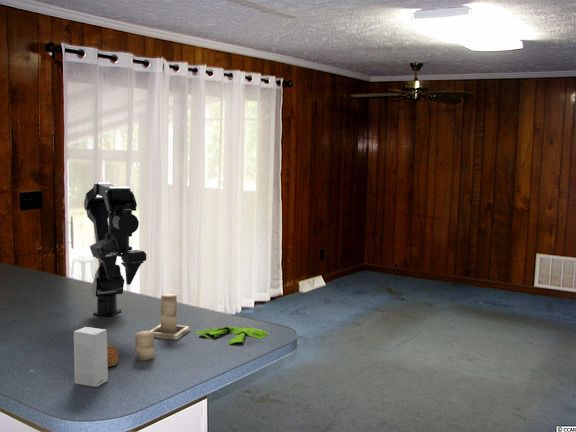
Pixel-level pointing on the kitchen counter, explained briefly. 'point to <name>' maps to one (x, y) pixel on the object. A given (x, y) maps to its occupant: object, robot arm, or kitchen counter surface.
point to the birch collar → (170, 336)
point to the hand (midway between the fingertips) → (119, 282)
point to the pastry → (112, 355)
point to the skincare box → (90, 356)
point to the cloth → (239, 338)
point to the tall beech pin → (169, 313)
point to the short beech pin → (144, 345)
